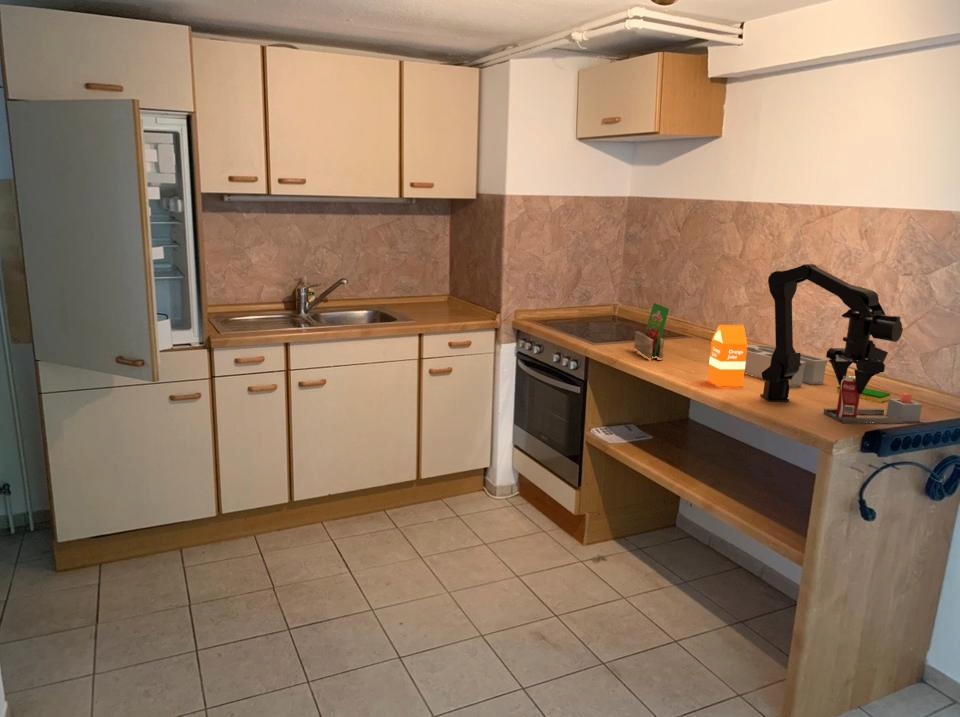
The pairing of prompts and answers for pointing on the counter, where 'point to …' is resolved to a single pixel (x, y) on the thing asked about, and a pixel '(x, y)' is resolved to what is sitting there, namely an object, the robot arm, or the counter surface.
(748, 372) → the grey compartment organizer
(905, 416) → the grey push button box
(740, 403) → the counter surface
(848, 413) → the soda can
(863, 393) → the dish sponge
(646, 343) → the packet holder
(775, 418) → the counter surface
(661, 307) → the tomato puree packet
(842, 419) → the grey shallow tray
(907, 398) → the plunger
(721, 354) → the orange juice
